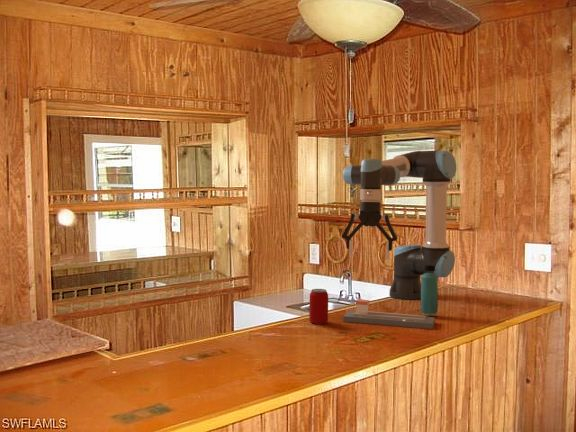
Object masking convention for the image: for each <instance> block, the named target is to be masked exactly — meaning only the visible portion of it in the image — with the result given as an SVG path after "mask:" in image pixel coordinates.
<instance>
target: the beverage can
mask: <svg viewBox="0 0 576 432" xmlns="http://www.w3.org/2000/svg"><path fill="white" fill-rule="evenodd" d="M308 308H309V310H308V311H309V313H308V315H309V316H308V317H309V318H308V319H309V322H310V323H311V324H313V323H314V324H313V325H325V324H326V323H328V321H329V319H328V318H329V294H328V291H327V289H325V288H312V289H311V291H310V293H309V305H308Z"/></svg>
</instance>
